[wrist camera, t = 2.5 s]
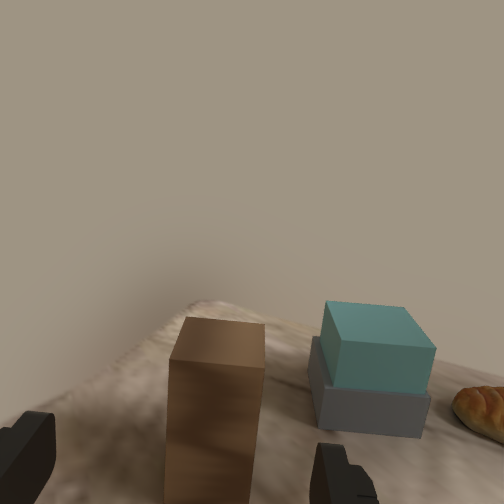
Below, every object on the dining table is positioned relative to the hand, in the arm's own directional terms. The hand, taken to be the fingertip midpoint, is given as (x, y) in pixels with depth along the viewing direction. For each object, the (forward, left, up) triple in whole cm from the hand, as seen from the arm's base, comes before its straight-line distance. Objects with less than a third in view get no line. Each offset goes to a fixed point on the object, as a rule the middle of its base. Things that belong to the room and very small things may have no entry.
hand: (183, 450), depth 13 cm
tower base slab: (-7, -23, -13) cm, 27 cm away
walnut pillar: (+3, -11, -12) cm, 17 cm away
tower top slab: (-7, -23, -9) cm, 26 cm away
